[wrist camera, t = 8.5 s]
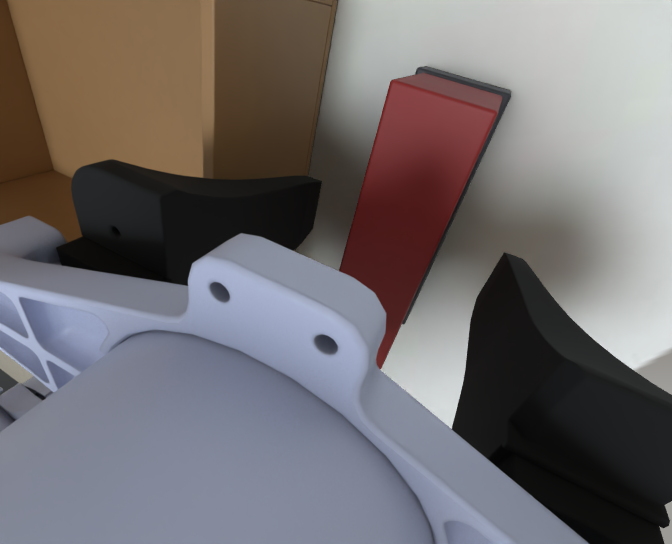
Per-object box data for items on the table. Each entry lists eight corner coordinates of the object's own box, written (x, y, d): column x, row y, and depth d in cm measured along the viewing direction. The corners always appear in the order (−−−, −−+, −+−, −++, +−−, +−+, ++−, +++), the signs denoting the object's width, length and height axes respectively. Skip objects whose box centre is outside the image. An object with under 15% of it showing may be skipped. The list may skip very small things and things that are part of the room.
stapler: (410, 310, 17) (381, 381, 14) (355, 286, 18) (312, 347, 14) (512, 91, 11) (510, 109, 8) (424, 65, 12) (383, 71, 8)
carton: (57, 172, 23) (-67, 204, 18) (-17, -99, 16) (-264, -169, 11) (290, 280, 20) (213, 357, 15) (339, -7, 12) (214, -49, 7)
